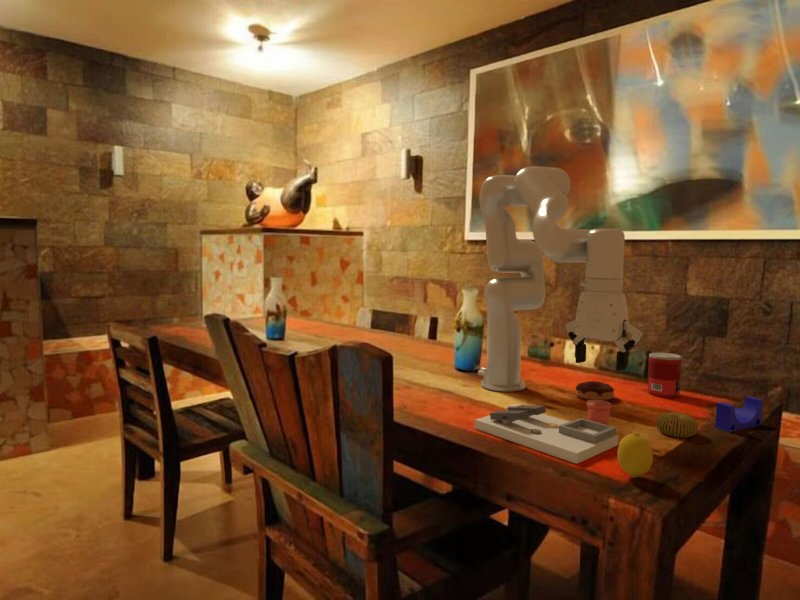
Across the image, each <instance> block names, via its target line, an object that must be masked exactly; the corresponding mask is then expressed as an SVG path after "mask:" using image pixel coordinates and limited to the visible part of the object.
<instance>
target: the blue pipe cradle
mask: <svg viewBox="0 0 800 600" xmlns="http://www.w3.org/2000/svg"><path fill="white" fill-rule="evenodd" d="M763 406H764V400H763V399H761V398H757V397H753V396H746V397H744V404H743V407H738V408H735V407H736V406H735V405H733V404H729V403H727V402H722V401H720V402H717V403H716V408H715V409H716V411H715V425H714V427H715V428H719V429H722V430H725V431H727V432H730V431H731V430H733V431H735V430H739V431H742V430H741V429H743V430H746V429H745V428H747V429H751V428H755V427H759V426H762V424H763V422H762V421H763V408H764V407H763ZM750 427H751V428H750ZM715 428H714V429H715ZM727 432H726V433H727ZM735 432H736V431H735Z"/></svg>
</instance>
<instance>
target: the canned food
mask: <svg viewBox="0 0 800 600" xmlns="http://www.w3.org/2000/svg"><path fill="white" fill-rule="evenodd" d="M682 360H683V359H682V356H681V355H679V354H676V353H670V352H651V353H649V354H648V363H647V364H648V365H647V366H648V367H647V368H648V370H647V388H646V389H647V394H649V395H651V396H653V397H658V398H664V399H674V398H679V395H680V393H681V380H682V379H681V378H682V377H681V376H682Z"/></svg>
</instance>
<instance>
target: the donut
mask: <svg viewBox="0 0 800 600" xmlns="http://www.w3.org/2000/svg"><path fill="white" fill-rule="evenodd" d="M575 390H576V391H575V395H576V396H578V398H580V399H582V398H583V400H585V399H586V401H589V400H602V401H606V402H607V401H610V400H612V399H613V398H614V397H615V389H614V387H613V386H612V385H610V384H608V383H605V382H601V381H597V380H596V381H593V380H592V381H591V380H589V381H584V382H580V383H578V384H577V385H576V386H575Z"/></svg>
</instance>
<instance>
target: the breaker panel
mask: <svg viewBox="0 0 800 600" xmlns="http://www.w3.org/2000/svg"><path fill="white" fill-rule="evenodd" d="M505 411H508V409H506V410H505ZM474 429H476V430H478V431H481V432H484V433H487V434H490V435H492V436H496V437H499V438H501V439H504V440H506V441H510V442H512V443H515V444H518V445H521V446H524V447H527V448H530V449H532V450H536V451H537V452H541V453H543V454H544V453H545V454H547V455H550V456H553V457H556V458H559V459H561V460H564V461H567V462H570V463H573V464H576V465H578V464H579V463H581V462H584V461H586V460H588V459H591V458H592V457H595V456H596V455H599V454H602V453H604V452H606V451H608V450H610V449H612V448H614V447H617V446H619V434H617V427H615V426H612V425H609V426H608V425H605V424H601V423H597V422H594V421H590V420H587V419H586V418H582V417H579V418H576V419H574V420H570V421H568V420H565V419H561V418H558V417H554V416H550V415H547V414H545V413H542V414H539V415H533V416H530V417H528V418H525V419H522V420H516V421H514V422H511V423H508V424H504V423H503V422H502V420H491V418H490V414H489V415H487V416H483V417H480V418H476V419H474Z"/></svg>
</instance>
